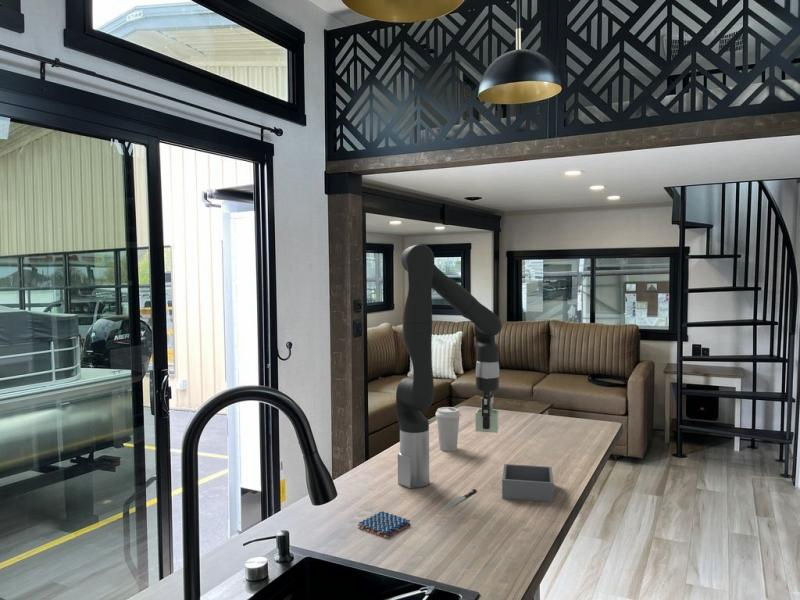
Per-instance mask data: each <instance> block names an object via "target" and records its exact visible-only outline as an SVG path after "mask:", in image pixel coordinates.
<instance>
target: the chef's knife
mask: <svg viewBox="0 0 800 600" xmlns="http://www.w3.org/2000/svg"><path fill="white" fill-rule="evenodd" d="M477 491H478V490H477V489H475V488H473V489H472V490H471V491H469V492H468V493H466V494H464V495H463V496H461V495H460V496H459V495H458V496H456V497H455V498H453V499H452V500H450V501H449V502H448V503H447V504H446V505H445V507H444V511H445V512H446V511H449V510H450V509H452V508H454V507H456V506H457V505H458V504H460V503H461V502H463V501H465V500H466V499H467V498H469V497H470V496H472V495H473V494H475V493H476V492H477ZM456 504H457V505H456Z"/></svg>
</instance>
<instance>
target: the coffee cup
mask: <svg viewBox="0 0 800 600" xmlns="http://www.w3.org/2000/svg"><path fill="white" fill-rule="evenodd" d="M461 415H462V414H461V412H460V410H459V408H457V407H453V406H451V407H450V406H444V407H438V408H437V410H436V411H435V416H436V422H437V434H438V435H437V436H438V445H439V450H440V449H441V450H440V451H442V450H444V451H443V452H454V451H453V450H455V451H456V449H458V437H459V436H458V435H459V425H460V417H461Z"/></svg>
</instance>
